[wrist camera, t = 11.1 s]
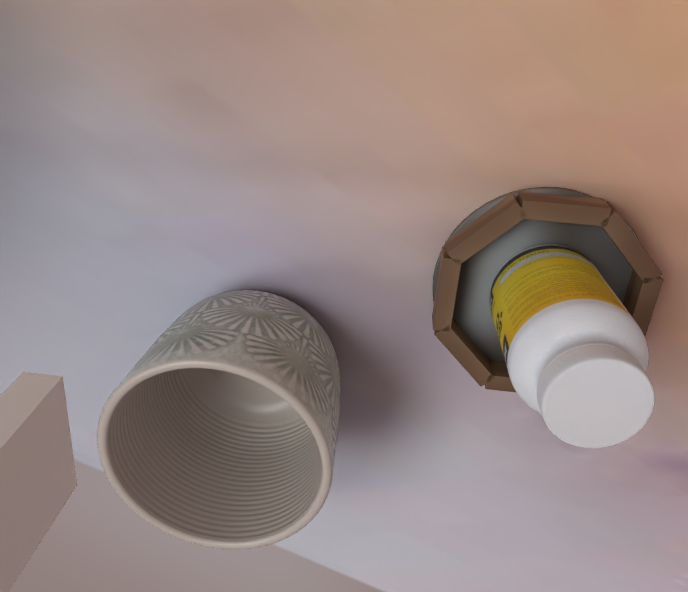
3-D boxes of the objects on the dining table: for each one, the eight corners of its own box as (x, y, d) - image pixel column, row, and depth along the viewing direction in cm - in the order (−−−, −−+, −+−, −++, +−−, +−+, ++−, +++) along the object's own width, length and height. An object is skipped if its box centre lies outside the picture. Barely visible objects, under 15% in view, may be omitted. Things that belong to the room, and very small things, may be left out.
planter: (321, 449, 45) (296, 575, 35) (156, 399, 44) (83, 512, 35) (375, 304, 39) (363, 405, 30) (187, 245, 39) (111, 327, 29)
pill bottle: (476, 256, 36) (505, 358, 26) (590, 227, 35) (668, 321, 25) (500, 350, 39) (535, 477, 28) (607, 325, 38) (685, 449, 27)
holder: (421, 362, 41) (421, 384, 39) (447, 177, 36) (450, 189, 33) (613, 383, 40) (625, 407, 38) (670, 197, 35) (688, 211, 32)
